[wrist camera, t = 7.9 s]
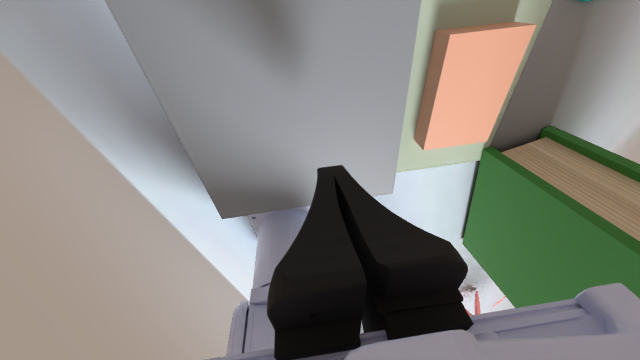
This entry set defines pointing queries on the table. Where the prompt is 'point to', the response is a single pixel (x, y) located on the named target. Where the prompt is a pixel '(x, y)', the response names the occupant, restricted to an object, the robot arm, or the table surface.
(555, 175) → the hardback book
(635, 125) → the table surface
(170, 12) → the block
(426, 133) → the terracotta tile
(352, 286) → the robot arm
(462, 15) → the sage mat
